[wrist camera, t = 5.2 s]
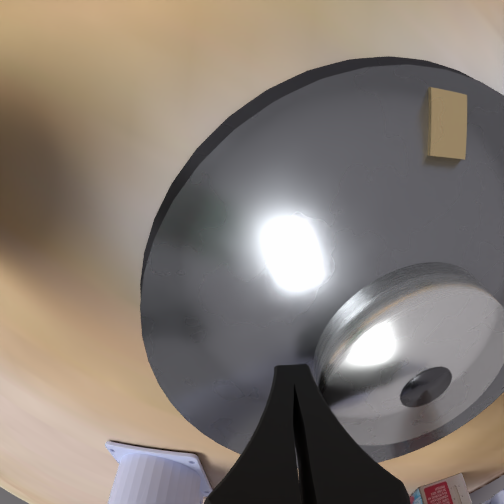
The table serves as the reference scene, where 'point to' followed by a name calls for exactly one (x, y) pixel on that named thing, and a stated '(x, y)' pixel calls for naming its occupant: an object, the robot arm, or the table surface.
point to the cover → (410, 352)
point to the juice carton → (443, 492)
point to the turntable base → (256, 107)
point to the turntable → (319, 233)
